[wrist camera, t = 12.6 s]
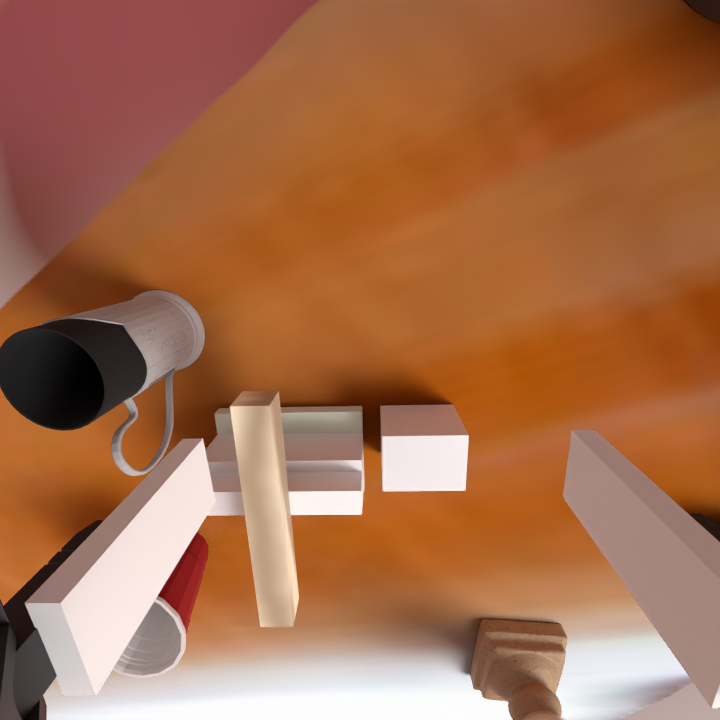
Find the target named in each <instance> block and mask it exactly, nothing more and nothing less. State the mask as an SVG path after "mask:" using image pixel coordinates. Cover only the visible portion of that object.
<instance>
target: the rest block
mask: <svg viewBox="0 0 720 720" xmlns="http://www.w3.org/2000/svg"><path fill="white" fill-rule="evenodd" d="M380 424H381V465H382V484H383V491H465V487H466V471H467V455H468V439H469V435H468V433H467V431H466V429H465V427H464V425H463V423H462V421H461V419H460V417H459V415H458V413H457V411H456V409H455V407H454V405H453V404H450V405H386V406H380Z"/></svg>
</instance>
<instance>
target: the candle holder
mask: <svg viewBox="0 0 720 720" xmlns="http://www.w3.org/2000/svg"><path fill="white" fill-rule="evenodd" d="M566 644H567V636H566V634H565V632H564V630H563V628H562V625H561V624H557V623H548V622H533V621H518V620H502V619H482V620H481V621H480V625H479V629H478V633H477V638H476V643H475V648H474V653H473V658H472V663H471V670H470V675H471V680H472V684H473V688H474V689H476V690H480V691H481V692H482V696H483V697H484V698H486V699H492V700H501V701H507V702H509V704H508V707H509V712H510V715H511V717H512V719H513V720H566V719H564V718H562V717H561V705H560V702H559V699H558V698H557V696H556V695H555V693H556V690H557V687H558V684H559V681H560V677H561V674H562V670H563V666H564V662H565V648H566Z"/></svg>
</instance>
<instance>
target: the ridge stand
mask: <svg viewBox="0 0 720 720" xmlns="http://www.w3.org/2000/svg"><path fill="white" fill-rule="evenodd" d="M280 408H281V419H282V429H283V439H284V450H285V460H286V470H287V481H288V491H289V501H290V512H291V515H361V514H362V504H363V491H364V452H363V417H362V406H322V407H280ZM214 415H215V421H216V428H217V434H218V435H217V436H216V437H215V438H214V440H213V441H212V442H211V443H210V445H209V446H208V447H207V449H206V450H205V451H206V456H207V461H208V466H209V471H210V476H211V481H212V487H213V492H214V497H215V503H214V505H213V506H212V508H211V509H210V511H209V513H208V514H207V516H212V515H245V512H244V505H243V498H242V490H241V483H240V476H239V469H238V462H237V454H236V447H235V440H234V433H233V426H232V419H231V411H230V408H219V409H218V410H217V411H216V413H215V414H214Z"/></svg>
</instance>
